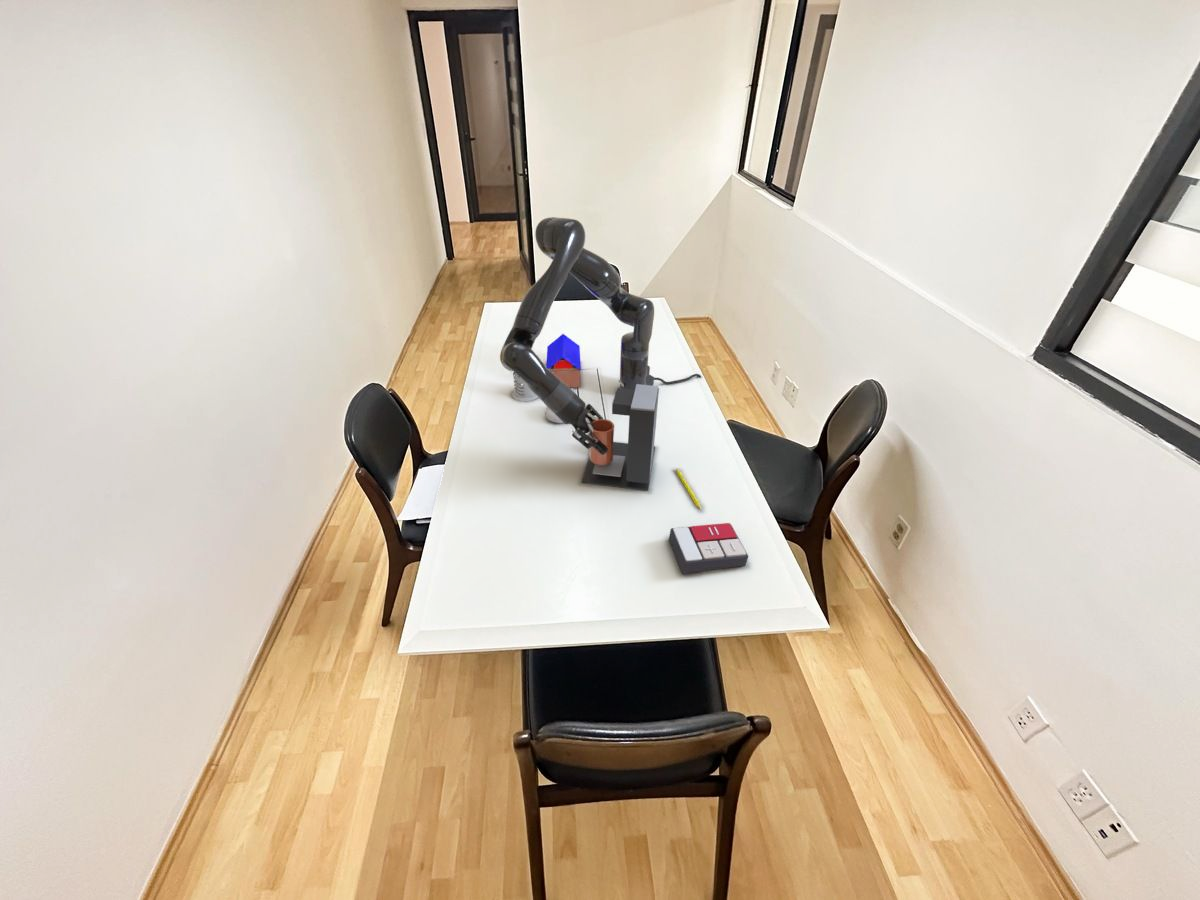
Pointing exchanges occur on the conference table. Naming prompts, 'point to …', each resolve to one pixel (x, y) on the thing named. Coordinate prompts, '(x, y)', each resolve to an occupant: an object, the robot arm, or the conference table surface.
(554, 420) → the donut
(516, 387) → the french press
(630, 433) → the coffee maker
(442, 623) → the conference table surface
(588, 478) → the coffee maker base
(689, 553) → the calculator
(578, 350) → the house
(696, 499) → the pencil
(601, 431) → the tumbler
